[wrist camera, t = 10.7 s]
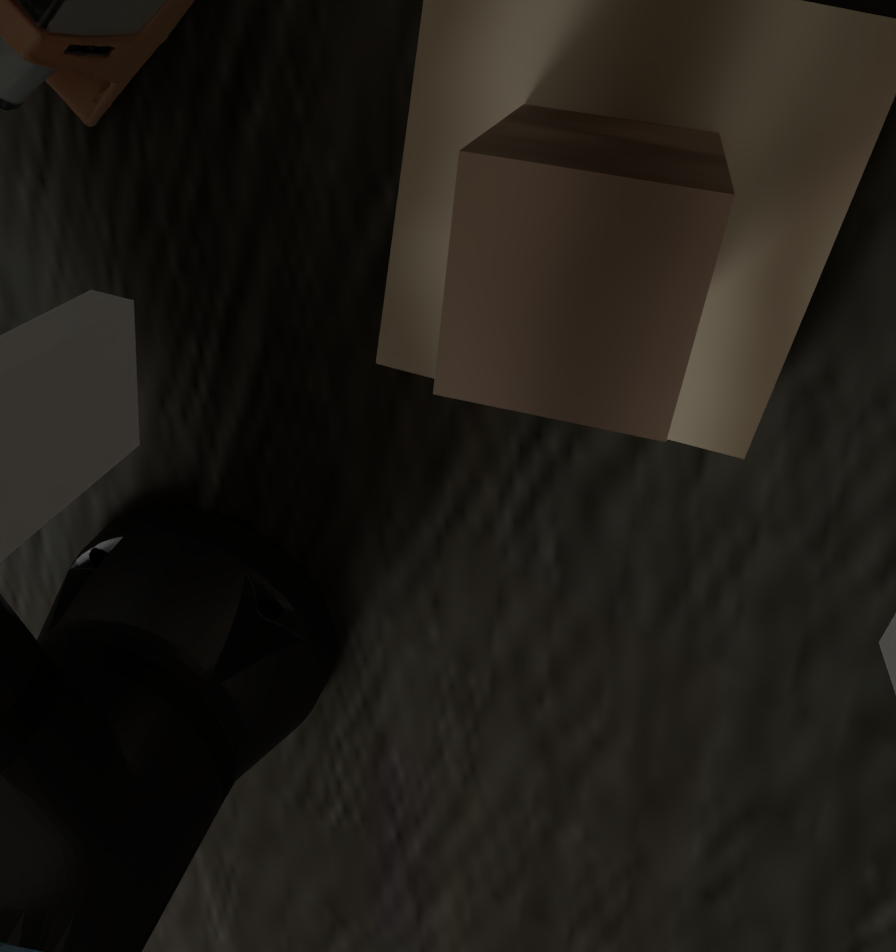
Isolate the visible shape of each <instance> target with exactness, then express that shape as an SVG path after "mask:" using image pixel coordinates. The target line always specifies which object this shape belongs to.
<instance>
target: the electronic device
mask: <svg viewBox="0 0 896 952" xmlns="http://www.w3.org/2000/svg"><path fill="white" fill-rule="evenodd" d="M194 1H195V0H0V108H2V109H4V110H13V109H17V108H18V107H19V106H20V105H21V104H22V103H23V102H24V101H25V100H26V99H27V98H28V97H29V96H30V95H31V94H32V93H33V92H34V91H35V90H36V89H37V88H38V87H39V86H40V85H41V84H42V83H43V82H44V81H46V82H47V83H48V84H49V85H50V86H51V87H52V88H53V89H54V90H55V91H56V93H57V94H58V95H59V96H60V97H61V98H62V99H63V100H64V101H65V103H66V104H67V105H68V106H69V107H70V108H71V110H72V111H73V112H74V113H75V114H76V115H77V116H78V117H79V118H80V119H81V121H82V122H83V123H84V124H85V125H86V126H88V127H92V126H95V125H96V124H97V122H98V121H99V119H100V118H101V116H102V115H103V114H104V113H105V112H106V111H107V109H108V108H110V107H111V104H112V102H113V101H114V100H115V99H116V98H117V96H118V95H119V94H120V93H121V92H122V90H123V89H124V88H125V87H126V86H127V84H128V83H129V82H130V80H131V79H132V78H133V77H134V76H135V74H136V73H137V72H138V71H139V69H140V68H141V67H142V66H143V65H144V63H145V62H146V61H147V60H148V59H149V58H150V57H151V56H152V55H153V53H154V52H155V51H156V49H157V48H158V47H159V46H160V45H161V44H162V43H163V42H164V41H165V40H166V39H167V38H168V35H169V33H171V32H172V30H173V29H174V28H175V27H176V25H177V24H178V23H179V21H180V20H181V19H182V17H183V16H184V14H185V13H186V11H187V10H188V8H189V7H190V6H191V5H192V3H193V2H194Z"/></svg>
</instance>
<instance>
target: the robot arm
mask: <svg viewBox="0 0 896 952" xmlns="http://www.w3.org/2000/svg"><path fill="white" fill-rule="evenodd" d="M139 445H140V443H139V418H138V393H137V368H136V343H135V318H134V300H131V299H127V298H122V297H118V296H114V295H110V294H106V293H102V292H98V291H94V290H89V291H88V292H86V293H84V294H82V295H80V296H78V297H76V298H74V299H72V300H70V301H68V302H66V303H64V304H62V305H60V306H58V307H56V308H54V309H52V310H50V311H48V312H46V313H44V314H42V315H40V316H38V317H36V318H34V319H32V320H30V321H28V322H26V323H24V324H22V325H20V326H18V327H16V328H14V329H12V330H10V331H8V332H6V333H4V334H2V335H0V562H1V561H2V560H4V559H5V558H6V557H7V556H8V555H9V554H11V553H12V552H13V551H14V550H15V549H17V548H18V547H19V546H20V545H21V544H22V543H24V542H25V541H26V540H27V539H28V538H30V537H31V536H32V535H33V534H34V533H36V532H37V531H38V530H39V529H40V528H41V527H43V526H44V525H45V524H46V523H47V522H49V521H50V520H51V519H52V518H53V517H55V516H56V515H57V514H58V513H59V512H60V511H62V510H63V509H64V508H65V507H66V506H68V505H69V504H70V503H71V502H72V501H74V500H75V499H76V498H77V497H78V496H79V495H81V494H82V493H83V492H84V491H85V490H87V489H88V488H89V487H90V486H91V485H92V484H94V483H95V482H96V481H97V480H98V479H100V478H101V477H102V476H103V475H104V474H106V473H107V472H108V471H109V470H110V469H111V468H113V467H114V466H115V465H116V464H117V463H119V462H120V461H121V460H122V459H123V458H125V457H126V456H127V455H128V454H129V453H130V452H132V451H133V450H134V449H135V448H136V447H138V446H139ZM879 645H880V648H881V651H882V654H883V657H884V660H885V663H886V666H887V669H888V672H889V675H890V678H891V681H892V684H893V688H894V691H895V694H896V614H895V616H894V617H893V619H892V621H891V622H890V624H889V626H888V628H887V629H886V631H885V633H884V634H883V636H882V638H881V640H880V641H879ZM333 661H334V637H333V631H332V627H331V623H330V620H329V617H328V614H327V612H326V609H325V607H324V605H323V603H322V601H321V599H320V597H319V596H318V594H317V592H316V591H315V589H314V588H313V586H312V585H311V583H310V582H309V580H308V579H307V578H306V576H305V575H304V574H303V573H302V572H301V571H300V569H299V568H298V567H297V566H296V565H295V564H294V563H293V562H292V561H291V560H290V559H289V558H288V557H287V556H286V555H285V554H284V553H282V552H281V551H280V550H279V549H278V548H277V547H275V546H274V545H273V544H271V543H270V542H269V541H267V540H266V539H264V538H263V537H261V536H260V535H258V534H257V533H255V532H253V531H252V530H250V529H248V528H246V527H244V526H242V525H241V524H239V523H236V522H234V521H232V520H230V519H227V518H225V517H222V516H219V515H216V514H213V513H210V512H207V511H203V510H198V509H193V508H187V507H179V506H157V507H149V508H144V509H140V510H136V511H133V512H130V513H128V514H125V515H123V516H121V517H119V518H118V519H116V520H115V521H113V522H112V523H110V524H109V525H108V526H107V527H106V528H105V529H104V530H103V531H101V532H100V533H99V534H98V535H97V536H96V537H95V538H94V539H93V540H92V541H91V542H90V543H89V544H88V545H87V546H86V547H85V548H84V549H83V550H82V551H81V552H80V553H79V555H78V556H77V557H76V559H75V560H74V561H73V563H72V565H71V566H70V568H69V570H68V573H67V575H66V577H65V579H64V581H63V583H62V586H61V588H60V590H59V592H58V595H57V597H56V599H55V601H54V603H53V606H52V608H51V610H50V612H49V614H48V617H47V619H46V621H45V623H44V625H43V628H42V630H41V632H40V634H39V636H38V639H37V640H36V639H35V638H34V636H33V635H32V634H31V633H30V631H29V630H28V629H27V627H26V626H25V625H24V624H23V622H22V621H21V620H20V618H19V617H18V616H17V615H16V613H15V612H14V611H13V609H12V608H11V607H10V606H9V604H8V603H7V602H6V600H5V599H4V598H3V597H2V595H1V594H0V952H142V950H143V948H144V947H145V945H146V943H147V941H148V939H149V937H150V936H151V934H152V932H153V930H154V928H155V926H156V925H157V923H158V921H159V919H160V917H161V915H162V914H163V912H164V910H165V908H166V906H167V904H168V903H169V901H170V899H171V897H172V895H173V893H174V892H175V890H176V888H177V886H178V884H179V882H180V881H181V879H182V877H183V875H184V873H185V871H186V870H187V868H188V866H189V864H190V862H191V860H192V859H193V857H194V855H195V853H196V851H197V849H198V848H199V846H200V844H201V842H202V840H203V838H204V837H205V835H206V833H207V831H208V829H209V827H210V826H211V824H212V822H213V820H214V818H215V816H216V815H217V813H218V811H219V809H220V807H221V805H222V804H223V802H224V800H225V798H226V797H227V795H228V793H229V791H230V790H231V788H232V786H233V785H234V783H235V782H236V780H237V779H239V778H240V777H241V776H242V775H243V774H244V773H245V772H247V771H248V770H249V769H250V768H251V767H252V766H253V765H255V764H256V763H257V762H258V761H259V760H260V759H262V758H263V757H264V756H265V755H266V754H267V753H268V752H270V751H271V750H272V749H273V748H274V747H275V746H276V745H278V744H279V743H280V742H281V741H282V740H283V739H284V738H286V737H287V736H288V735H289V734H290V733H291V732H292V731H294V730H295V729H296V728H297V727H298V726H299V725H300V724H301V723H302V722H303V721H304V720H305V719H306V717H307V716H308V715H309V713H310V712H311V711H312V709H313V708H314V706H315V704H316V702H317V700H318V698H319V696H320V694H321V692H322V690H323V688H324V686H325V684H326V682H327V681H328V678H329V676H330V673H331V670H332V667H333Z"/></svg>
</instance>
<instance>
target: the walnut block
mask: <svg viewBox="0 0 896 952" xmlns="http://www.w3.org/2000/svg"><path fill="white" fill-rule="evenodd" d="M734 197H735V192H734V188H733V185H732V181H731V177H730V173H729V169H728V165H727V161H726V157H725V153H724V149H723V146H722V142H721V138H720V134H719V133H716V132H709V131H702V130H696V129H689V128H682V127H676V126H669V125H662V124H655V123H649V122H642V121H635V120H629V119H622V118H615V117H608V116H602V115H595V114H588V113H582V112H575V111H568V110H562V109H555V108H548V107H541V106H535V105H528V104H523V105H522V106H520V107H519V108H518V109H516V110H515V111H513V112H512V113H511V114H509V115H508V116H507V117H505V118H504V119H502V120H501V121H500V122H498V123H497V124H495V125H494V126H493V127H491V128H490V129H488V130H487V131H486V132H484V133H483V134H482V135H480V136H479V137H477V138H476V139H475V140H473V141H472V142H470V143H469V144H468V145H466V146H465V147H463V148H462V149H461V150H459V156H458V165H457V175H456V184H455V193H454V203H453V212H452V221H451V231H450V240H449V249H448V259H447V268H446V277H445V287H444V296H443V305H442V314H441V324H440V333H439V342H438V352H437V361H436V370H435V380H434V389H433V394H434V395H439V396H444V397H449V398H454V399H459V400H464V401H469V402H473V403H478V404H483V405H488V406H493V407H498V408H503V409H508V410H512V411H517V412H522V413H527V414H532V415H537V416H542V417H547V418H551V419H556V420H561V421H566V422H571V423H576V424H581V425H586V426H590V427H595V428H600V429H605V430H610V431H615V432H620V433H625V434H630V435H634V436H639V437H644V438H649V439H654V440H659V441H664V442H666V440H667V437H668V433H669V430H670V426H671V422H672V419H673V415H674V412H675V408H676V404H677V401H678V397H679V394H680V390H681V387H682V383H683V379H684V376H685V372H686V369H687V365H688V362H689V358H690V354H691V351H692V347H693V344H694V340H695V336H696V333H697V329H698V326H699V322H700V319H701V315H702V311H703V308H704V304H705V301H706V297H707V293H708V290H709V286H710V283H711V279H712V276H713V272H714V268H715V265H716V261H717V258H718V254H719V251H720V247H721V243H722V240H723V236H724V233H725V229H726V225H727V222H728V218H729V215H730V211H731V208H732V204H733V200H734Z"/></svg>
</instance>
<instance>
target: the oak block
mask: <svg viewBox="0 0 896 952" xmlns="http://www.w3.org/2000/svg"><path fill="white" fill-rule="evenodd" d="M895 95H896V19H895V18H890V17H885V16H880V15H874V14H869V13H864V12H859V11H854V10H849V9H844V8H839V7H833V6H828V5H823V4H818V3H813V2H808V1H803V0H424V1H423V8H422V16H421V24H420V31H419V39H418V46H417V54H416V62H415V69H414V77H413V84H412V92H411V99H410V107H409V115H408V122H407V130H406V137H405V145H404V153H403V160H402V168H401V175H400V183H399V190H398V198H397V206H396V213H395V221H394V228H393V236H392V244H391V251H390V259H389V266H388V274H387V281H386V289H385V297H384V304H383V312H382V319H381V327H380V335H379V342H378V350H377V357H376V364H380V365H383V366H387V367H391V368H395V369H399V370H403V371H407V372H410V373H414V374H418V375H422V376H426V377H430V378H434V379H435V370H436V361H437V352H438V342H439V333H440V324H441V314H442V305H443V296H444V287H445V277H446V268H447V259H448V249H449V240H450V231H451V221H452V212H453V203H454V193H455V184H456V175H457V165H458V156H459V150H461V149H462V148H463V147H465V146H466V145H468V144H469V143H470V142H472V141H473V140H475V139H476V138H477V137H479V136H480V135H482V134H483V133H484V132H486V131H487V130H488V129H490V128H491V127H493V126H494V125H495V124H497V123H498V122H500V121H501V120H502V119H504V118H505V117H507V116H508V115H509V114H511V113H512V112H513V111H515V110H516V109H518V108H519V107H520V106H522V105H523V104H528V105H535V106H541V107H548V108H555V109H562V110H568V111H575V112H582V113H588V114H595V115H602V116H608V117H615V118H622V119H629V120H635V121H642V122H649V123H655V124H662V125H669V126H676V127H682V128H689V129H696V130H702V131H709V132H716V133H719V134H720V138H721V142H722V146H723V149H724V153H725V157H726V161H727V165H728V169H729V173H730V177H731V181H732V185H733V188H734V192H735V197H734V200H733V204H732V208H731V211H730V215H729V218H728V222H727V225H726V229H725V233H724V236H723V240H722V243H721V247H720V251H719V254H718V258H717V261H716V265H715V268H714V272H713V276H712V279H711V283H710V286H709V290H708V293H707V297H706V301H705V304H704V308H703V311H702V315H701V319H700V322H699V326H698V329H697V333H696V336H695V340H694V344H693V347H692V351H691V354H690V358H689V362H688V365H687V369H686V372H685V376H684V379H683V383H682V387H681V390H680V394H679V397H678V401H677V404H676V408H675V412H674V415H673V419H672V422H671V426H670V430H669V433H668V437H667V439H669V440H673V441H677V442H680V443H684V444H688V445H692V446H696V447H700V448H704V449H707V450H711V451H715V452H719V453H723V454H727V455H731V456H734V457H738V458H742V459H744V458H745V456H746V453H747V451H748V449H749V446H750V444H751V441H752V439H753V436H754V434H755V432H756V429H757V427H758V424H759V422H760V420H761V417H762V415H763V412H764V410H765V408H766V405H767V403H768V400H769V398H770V396H771V393H772V391H773V388H774V386H775V384H776V381H777V379H778V376H779V374H780V372H781V369H782V367H783V364H784V362H785V360H786V357H787V355H788V352H789V350H790V348H791V345H792V343H793V340H794V338H795V335H796V333H797V331H798V328H799V326H800V323H801V321H802V319H803V316H804V314H805V311H806V309H807V307H808V304H809V302H810V299H811V297H812V295H813V292H814V290H815V287H816V285H817V283H818V280H819V278H820V275H821V273H822V271H823V268H824V266H825V263H826V261H827V259H828V256H829V254H830V251H831V249H832V247H833V244H834V242H835V239H836V237H837V234H838V232H839V230H840V227H841V225H842V222H843V220H844V218H845V215H846V213H847V210H848V208H849V206H850V203H851V201H852V198H853V196H854V194H855V191H856V189H857V186H858V184H859V182H860V179H861V177H862V174H863V172H864V170H865V167H866V165H867V162H868V160H869V158H870V155H871V153H872V150H873V148H874V146H875V143H876V141H877V138H878V136H879V133H880V131H881V129H882V126H883V124H884V121H885V119H886V117H887V114H888V112H889V109H890V107H891V105H892V102H893V100H894V97H895Z"/></svg>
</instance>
